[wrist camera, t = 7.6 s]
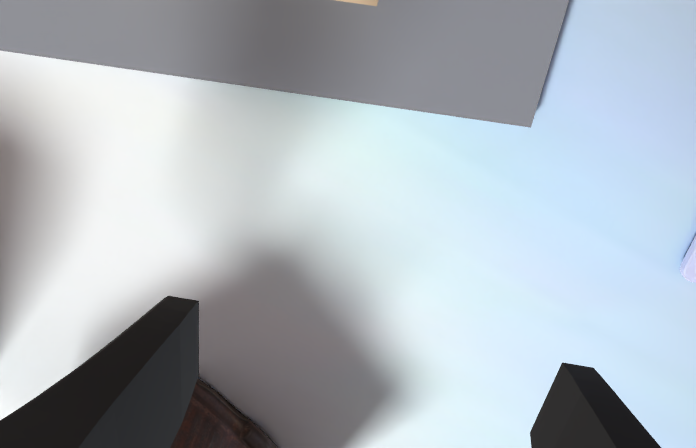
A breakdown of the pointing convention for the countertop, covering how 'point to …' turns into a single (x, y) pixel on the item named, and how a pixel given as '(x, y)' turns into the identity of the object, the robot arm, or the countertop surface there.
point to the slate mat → (315, 47)
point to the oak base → (362, 2)
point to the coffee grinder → (217, 424)
